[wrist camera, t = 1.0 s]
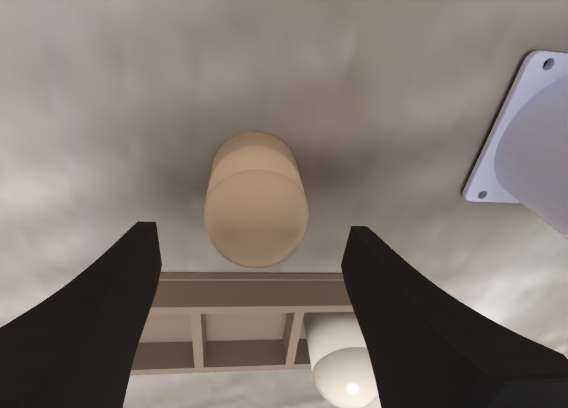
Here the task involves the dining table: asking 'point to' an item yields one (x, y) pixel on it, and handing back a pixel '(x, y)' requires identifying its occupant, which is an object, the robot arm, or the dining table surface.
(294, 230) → the tan egg
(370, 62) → the dining table surface
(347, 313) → the cream egg
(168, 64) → the dining table surface
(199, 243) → the dining table surface
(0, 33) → the dining table surface
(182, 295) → the egg carton
